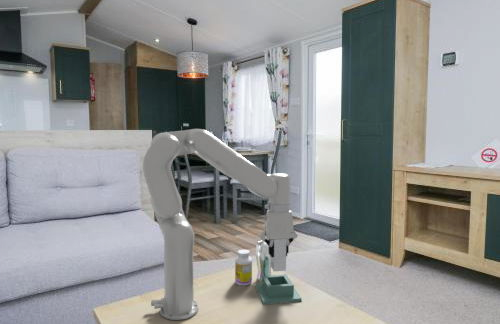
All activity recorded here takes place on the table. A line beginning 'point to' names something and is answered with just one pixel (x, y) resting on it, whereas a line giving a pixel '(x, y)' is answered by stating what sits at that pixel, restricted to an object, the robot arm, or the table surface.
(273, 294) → the well
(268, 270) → the beer glass
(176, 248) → the robot arm
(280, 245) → the silver square block
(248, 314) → the table surface
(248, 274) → the supplement bottle
